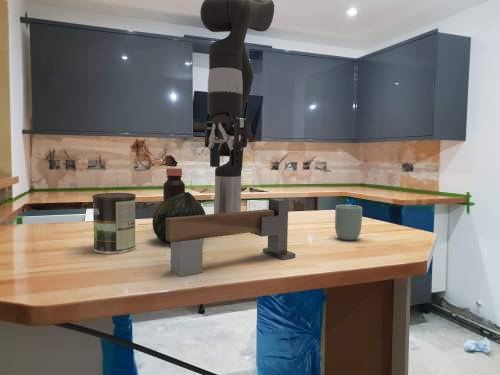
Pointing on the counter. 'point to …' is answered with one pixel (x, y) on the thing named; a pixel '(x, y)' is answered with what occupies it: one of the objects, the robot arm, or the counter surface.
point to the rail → (214, 225)
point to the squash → (175, 211)
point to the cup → (348, 221)
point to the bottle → (173, 183)
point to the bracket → (276, 229)
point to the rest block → (187, 257)
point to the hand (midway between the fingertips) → (224, 167)
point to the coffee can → (114, 223)
